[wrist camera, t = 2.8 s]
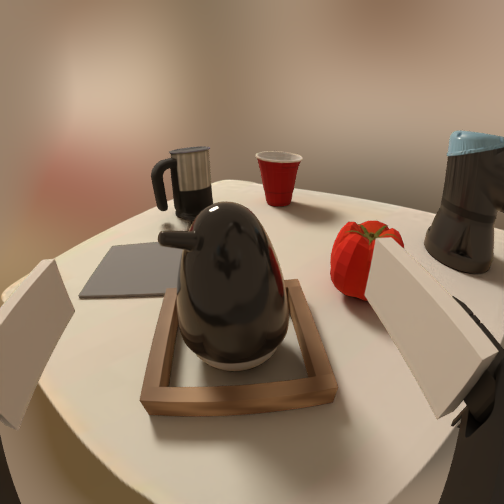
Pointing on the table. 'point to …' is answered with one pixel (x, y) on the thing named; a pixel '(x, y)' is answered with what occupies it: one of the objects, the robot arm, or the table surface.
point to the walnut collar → (239, 396)
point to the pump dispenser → (229, 288)
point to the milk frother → (185, 181)
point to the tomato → (357, 255)
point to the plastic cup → (278, 175)
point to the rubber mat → (134, 271)
